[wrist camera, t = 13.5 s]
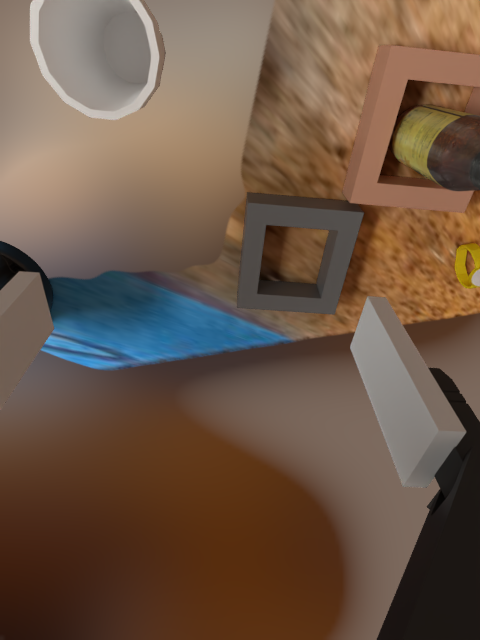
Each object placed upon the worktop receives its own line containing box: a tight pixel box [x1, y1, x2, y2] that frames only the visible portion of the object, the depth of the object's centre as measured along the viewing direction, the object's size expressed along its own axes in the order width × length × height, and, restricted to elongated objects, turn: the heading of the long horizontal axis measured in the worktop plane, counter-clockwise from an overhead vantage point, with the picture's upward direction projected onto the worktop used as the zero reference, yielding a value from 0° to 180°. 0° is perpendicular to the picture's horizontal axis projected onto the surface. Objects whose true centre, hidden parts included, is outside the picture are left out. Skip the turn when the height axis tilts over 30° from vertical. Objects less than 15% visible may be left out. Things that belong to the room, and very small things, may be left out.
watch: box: [455, 243, 480, 289], centre depth 50 cm, size 6×3×6 cm, turn 13°
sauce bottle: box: [389, 105, 480, 191], centre depth 35 cm, size 7×6×20 cm
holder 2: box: [342, 45, 480, 213], centre depth 41 cm, size 14×15×4 cm
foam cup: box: [30, 0, 165, 120], centre depth 33 cm, size 10×9×13 cm
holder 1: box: [237, 192, 364, 314], centre depth 50 cm, size 14×15×4 cm
